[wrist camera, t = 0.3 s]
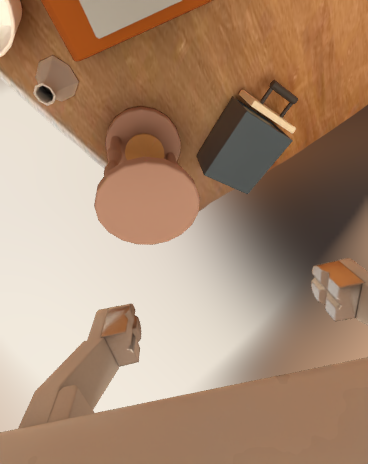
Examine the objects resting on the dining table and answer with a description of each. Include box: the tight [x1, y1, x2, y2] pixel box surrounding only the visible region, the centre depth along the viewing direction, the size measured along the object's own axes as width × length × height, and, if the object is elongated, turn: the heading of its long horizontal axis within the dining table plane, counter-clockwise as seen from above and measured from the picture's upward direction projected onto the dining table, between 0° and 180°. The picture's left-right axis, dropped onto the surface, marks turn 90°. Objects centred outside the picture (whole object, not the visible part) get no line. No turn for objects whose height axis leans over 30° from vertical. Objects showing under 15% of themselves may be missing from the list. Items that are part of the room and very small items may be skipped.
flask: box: [33, 55, 79, 106], centre depth 43 cm, size 7×7×10 cm
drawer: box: [239, 80, 298, 134], centre depth 55 cm, size 19×12×8 cm, turn 151°
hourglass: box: [94, 106, 200, 245], centre depth 49 cm, size 18×18×25 cm
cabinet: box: [196, 96, 293, 194], centre depth 57 cm, size 16×14×10 cm
